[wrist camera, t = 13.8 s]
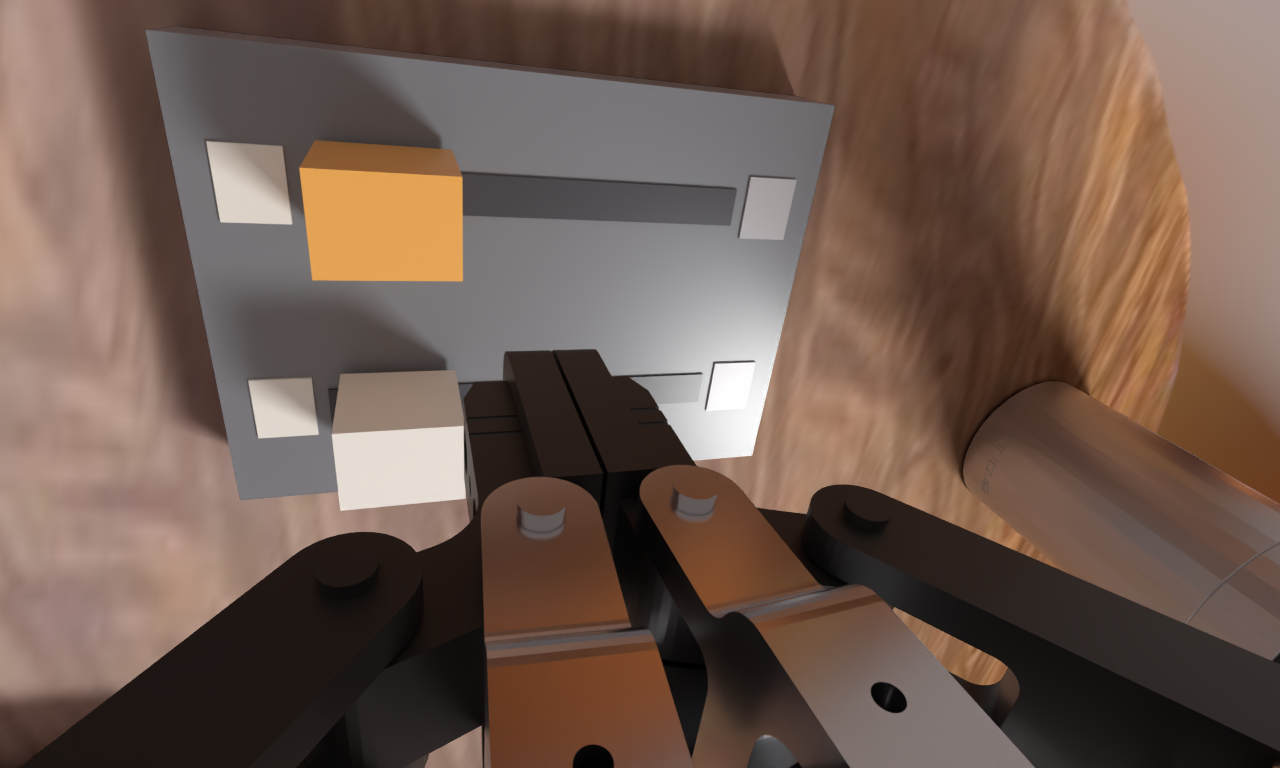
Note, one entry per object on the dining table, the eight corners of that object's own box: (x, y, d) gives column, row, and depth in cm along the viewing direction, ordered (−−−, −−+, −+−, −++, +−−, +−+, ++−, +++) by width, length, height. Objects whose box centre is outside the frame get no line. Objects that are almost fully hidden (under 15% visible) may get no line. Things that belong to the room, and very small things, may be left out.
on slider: (455, 369, 25) (465, 425, 22) (456, 436, 26) (465, 498, 23) (340, 373, 24) (331, 434, 21) (347, 443, 25) (340, 510, 22)
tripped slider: (451, 149, 21) (462, 176, 18) (452, 240, 23) (462, 281, 19) (314, 140, 20) (299, 167, 17) (324, 237, 21) (312, 280, 18)
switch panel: (795, 96, 28) (836, 105, 25) (726, 423, 35) (752, 456, 32) (175, 26, 20) (143, 29, 18) (253, 455, 28) (239, 501, 25)
